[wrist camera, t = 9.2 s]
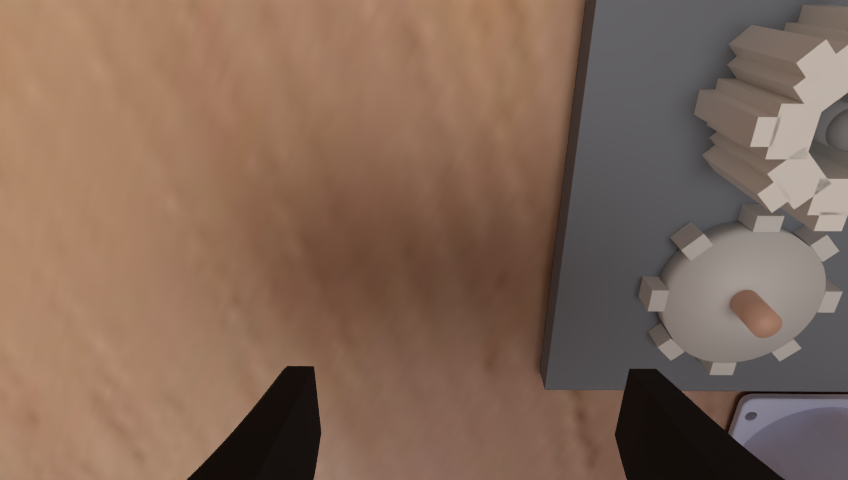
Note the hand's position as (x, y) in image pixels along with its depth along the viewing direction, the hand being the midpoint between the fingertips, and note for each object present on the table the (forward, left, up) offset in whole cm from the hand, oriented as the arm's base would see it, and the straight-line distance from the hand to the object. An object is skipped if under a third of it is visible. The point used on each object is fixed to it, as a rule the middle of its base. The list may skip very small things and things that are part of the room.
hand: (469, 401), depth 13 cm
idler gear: (+5, -11, -8) cm, 14 cm away
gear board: (+5, -11, -9) cm, 15 cm away
